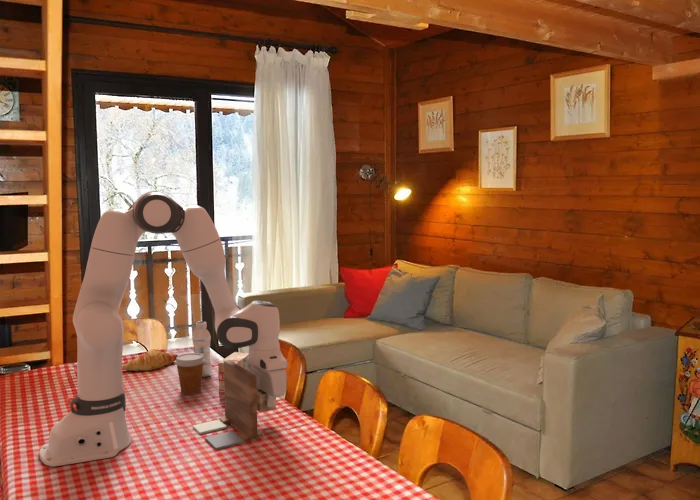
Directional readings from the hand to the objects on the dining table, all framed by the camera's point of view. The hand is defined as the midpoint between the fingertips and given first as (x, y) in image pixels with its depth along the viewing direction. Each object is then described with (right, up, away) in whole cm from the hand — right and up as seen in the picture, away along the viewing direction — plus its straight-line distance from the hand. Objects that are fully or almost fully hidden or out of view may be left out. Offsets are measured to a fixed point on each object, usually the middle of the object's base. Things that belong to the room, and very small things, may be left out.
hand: (264, 402), depth 180 cm
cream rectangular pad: (-15, -7, -2) cm, 17 cm away
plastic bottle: (-28, -2, +44) cm, 53 cm away
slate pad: (-9, -8, -11) cm, 17 cm away
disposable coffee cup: (-29, -3, +28) cm, 40 cm away
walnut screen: (-6, -7, -3) cm, 10 cm away
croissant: (-51, 0, +56) cm, 76 cm away
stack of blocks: (-12, -3, +31) cm, 34 cm away
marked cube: (0, -2, 0) cm, 2 cm away
